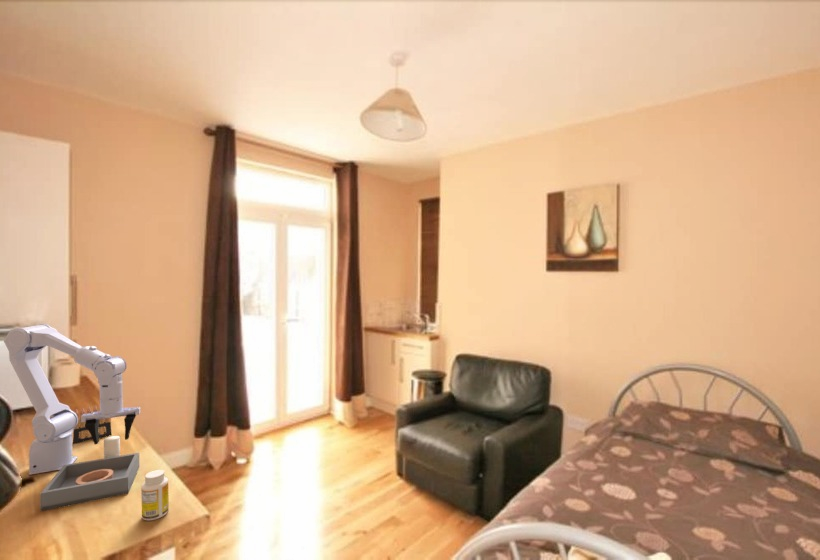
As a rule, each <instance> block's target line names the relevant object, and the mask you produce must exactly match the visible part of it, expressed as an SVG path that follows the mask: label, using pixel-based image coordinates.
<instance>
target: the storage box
mask: <svg viewBox="0 0 820 560" xmlns="http://www.w3.org/2000/svg"><path fill="white" fill-rule="evenodd" d="M139 469H140V452H135V453H128V454H122V455H121V454H120V456H115V457H109V458H104V457H103V458H97V459H93V460H86V461H79V462H74V463H73V464H67V465H63V467H62V468H61V469H60V470H57V471H58V472H56V474H55V475H54V476H53V478H52V479H51V480H50V481H48V484H47V485H46V486H45V487H44V488H43V490H42V491H41V492H40V493H39V495H40V496H39V497H40V499H39V500H40V503H39V504H40V506H39V507H40V508H39V509H40V512H44V511H51V510H53V509H54V510H55V509H59V507H60V508H64V506H65V507H68V505H70V506H73V505H74V506H75V505H78V504H83V503H84V504H86V503H88V502H89V503H90V502H93V501H94V502H95V501H98V500H99V501H100V500H103V499H107V498H114V497H118V496H123V495H129V493H130V491H131V488H132V485H133V483H134V481H135V479H136V476H137V474H138V472H137V471H139Z"/></svg>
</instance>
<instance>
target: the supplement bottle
mask: <svg viewBox="0 0 820 560" xmlns="http://www.w3.org/2000/svg"><path fill="white" fill-rule="evenodd" d="M140 489H141V490H140V491H141V492H140V493H141V518H142V519H143V520H144V521H155V520H158V519H161V518H162V517H164V516H165V515H167V513H168V512H169V509H170V502H169V479H168V477H167V476H165V470H164V469H163V470H162V469H156V470H152V471H149V472H147V473H146V474H145V476H144V482H142V484H141V487H140Z"/></svg>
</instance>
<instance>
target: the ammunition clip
mask: <svg viewBox="0 0 820 560" xmlns="http://www.w3.org/2000/svg"><path fill="white" fill-rule="evenodd" d="M86 410H87V411H85V409H84V407H81V410H80V416H79V410H78V409H77V408H75V410H74V411H73V412H74V413H75V414H76V415H77V416H78V424H77V426H76V427H75V428H73V429H74V432H72V445H73V444H74V445H75V444H80V443H85V442H87V441H93V438H92V436H91V434H90V432H89V431H88V429H87V428H86V427H85V424H86V422H81V416H82V415H83V414H88V413H93V412H98V407H97V405H94V406H93V410H92V409H91V406H88V407H87V409H86ZM111 419H112V418H106V419H99V439H102V438H107V437H110V436H109V435H111V436H113V435H112V420H111ZM106 436H107V437H106Z"/></svg>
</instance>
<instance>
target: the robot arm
mask: <svg viewBox="0 0 820 560" xmlns="http://www.w3.org/2000/svg"><path fill="white" fill-rule="evenodd" d="M3 343H4V344H5V346H6V348H7V350H8V359H9V361H10V364H11V366H12V368H13V370H14V372H15V373H16V376H17V378H18V379H19V382H20V383H21V385H22V387H23V389H24V391H25V393H26V395H27V397H28V399H29V400H30V403H31V405H32V406H33V409H34V410H35V412H36V413H35V415H34V416H33V418H32V420H31V421H30V422H31V424H32V428H33V429H32V434H33V436H34V438H35V439H34V440H33V441H32V442H31V444H30V446H29V450H28V451H29V452H28V457H29V458H28V464H29V467H28V469H29V470H28V471H29V472H28V476H30V475H37V474H41V473H42V474H43V473H48V472H55V471H59V470H60V469H61V468H62V467H63V465H67V464H73V463H75V462H76V460H77V459H78V456H77V455H75V456H73V432H74V429H73V428H75V427H76V426H77V424H78V416H79V415H78V416H77V415H76V414H75V413H74V412H75V411H73V410H72V409H71V408H70V406H69V405H67V404H65V403H62V402H60V401H59V399H58V397H57V395H56V393H55V391H54V389H53V387H52V385H51V384H50V382H49V380H48V378H47V375H46V374H45V372H44V369H43V368H42V366H41V364H40V362H39V360H38V356H39V354H40V353H41V352H42V350H43V349H45V348H46V347H50V348H51V349H52V348H53V349H55V350H57V351H59V352H62V353H64V354H67V355H69V356H72V357H73V359H74V362H75V363H77V365H80V366H82V367H84V368H86V369H88V370H91V371H92V372H93V374H94V376H95V377H96V378H97V381H98V383H97V384H99V385H98V386H99V387H98V388H99V411H98V410H97V412H93V411H92V412H91V413H88V414H87V413H85V414H83V415H82V416H81V415H80V416H81V422H86V424H85V427H86V428H87V429H88V431H89V432H90V434H91V436H92V438H93V440H92V441H93V444H94V445H98V444H99V443H100V438H99V419H106V418H111V419H112V418H120V417H124V420H123V421H124V429H125V430H124V440H129V438H130V434H131V433H130V432H131V430H132V426H133V423H134V422H135V419H136V417H137V416H139V415H140V414H141V407H140V406H136V407H124V399H123V398H124V395H123V394H124V393H123V392H124V391H123V390H124V388H123V387H124V385H123V384H124V383H123V373H125V371H126V369H127V367H128V366H127V362H126V360H125V359H124V358H122V356H119V355H118V356H111V354H109V353H105V352H103V351H101V350H99V349H97V348H98V347H97V346H95V345H87V346H83V345H80V344H79V343H77V342H75V341H74V340H72V339H70V338H69V337H67V336H65V335H64V334H62V333H60V332H59V331H58V329H57V328H55V327H52V326H50V325H49V324H46V323H45V324H44V323H42V324H37V325H31V326H25V327H15V328H13V329H10V331H9V332H8V333H7V334H6V337H4V340H3Z"/></svg>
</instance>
